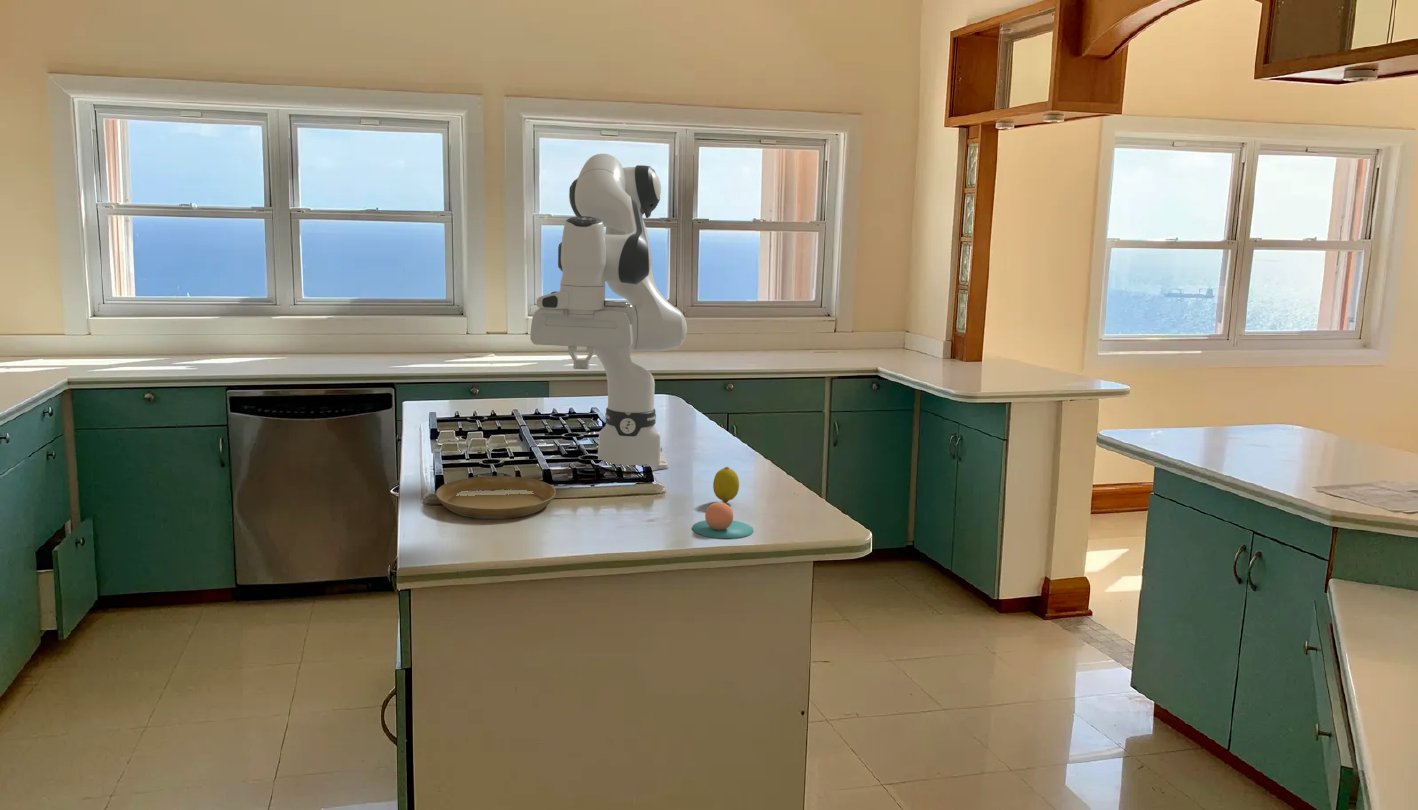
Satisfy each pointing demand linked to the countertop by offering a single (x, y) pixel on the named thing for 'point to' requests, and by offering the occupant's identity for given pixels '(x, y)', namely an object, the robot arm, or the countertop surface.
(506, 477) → the plant saucer
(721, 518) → the ball
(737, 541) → the countertop surface
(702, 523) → the disc
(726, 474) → the lemon
